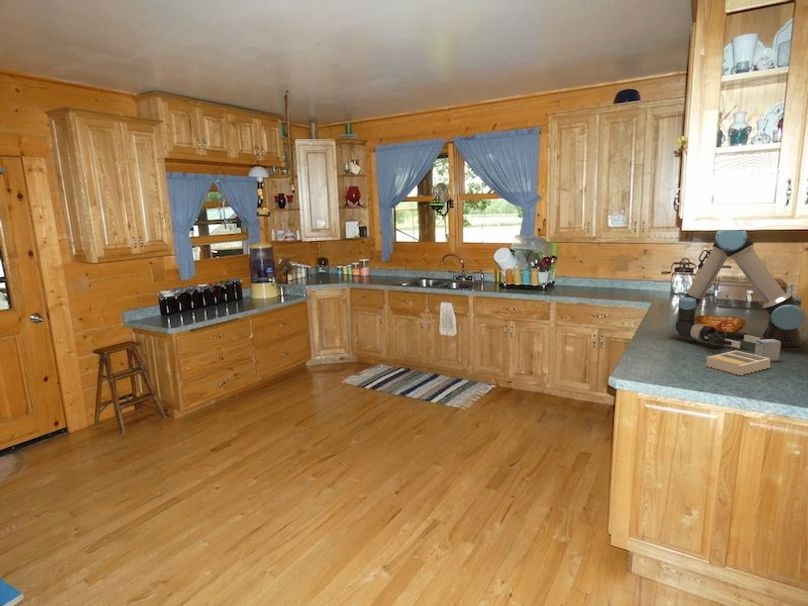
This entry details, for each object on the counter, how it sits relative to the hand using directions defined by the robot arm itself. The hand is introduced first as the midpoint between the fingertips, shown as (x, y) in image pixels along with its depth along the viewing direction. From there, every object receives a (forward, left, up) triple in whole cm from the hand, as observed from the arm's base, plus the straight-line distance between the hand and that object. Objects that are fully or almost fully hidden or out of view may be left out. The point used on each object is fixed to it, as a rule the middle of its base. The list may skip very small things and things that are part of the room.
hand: (749, 343), depth 217 cm
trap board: (+19, +7, -6) cm, 21 cm away
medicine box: (0, +7, -6) cm, 10 cm away
